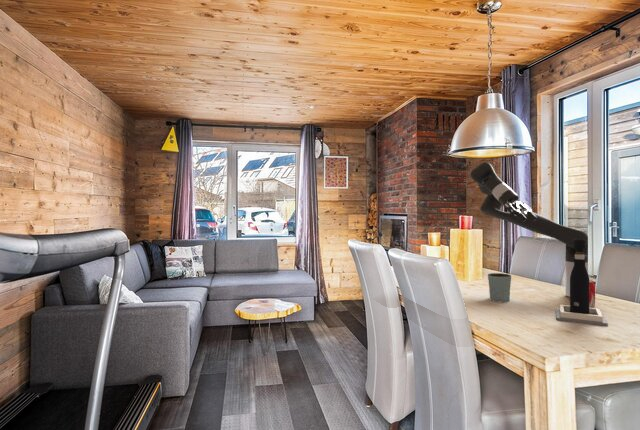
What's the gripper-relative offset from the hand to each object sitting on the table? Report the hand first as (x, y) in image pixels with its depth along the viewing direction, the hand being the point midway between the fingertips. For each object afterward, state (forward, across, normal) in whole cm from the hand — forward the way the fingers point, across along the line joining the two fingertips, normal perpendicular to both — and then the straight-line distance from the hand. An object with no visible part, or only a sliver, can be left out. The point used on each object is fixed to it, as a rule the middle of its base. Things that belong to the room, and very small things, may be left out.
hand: (530, 220), depth 169 cm
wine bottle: (+40, 0, -13) cm, 42 cm away
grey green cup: (+16, -3, -39) cm, 42 cm away
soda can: (+37, -19, -18) cm, 45 cm away
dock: (+41, 0, -14) cm, 43 cm away
